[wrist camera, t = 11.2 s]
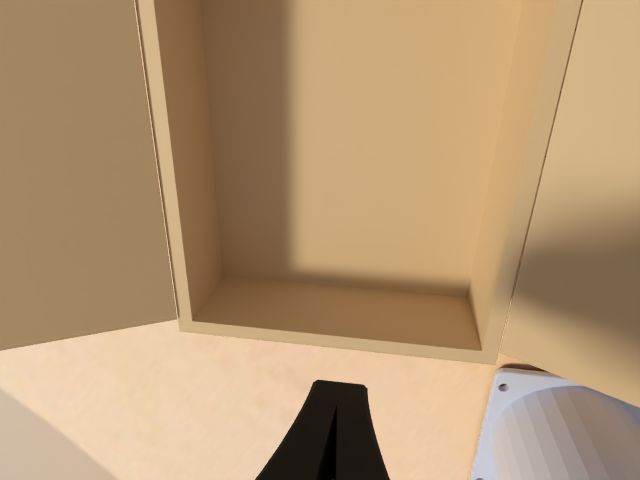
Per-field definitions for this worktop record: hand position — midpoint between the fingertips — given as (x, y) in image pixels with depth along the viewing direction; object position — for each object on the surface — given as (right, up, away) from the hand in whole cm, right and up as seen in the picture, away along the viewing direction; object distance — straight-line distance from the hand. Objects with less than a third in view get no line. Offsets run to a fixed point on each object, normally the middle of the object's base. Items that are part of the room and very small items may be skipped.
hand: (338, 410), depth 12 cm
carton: (+1, +9, +7) cm, 11 cm away
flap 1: (-9, +7, +3) cm, 12 cm away
